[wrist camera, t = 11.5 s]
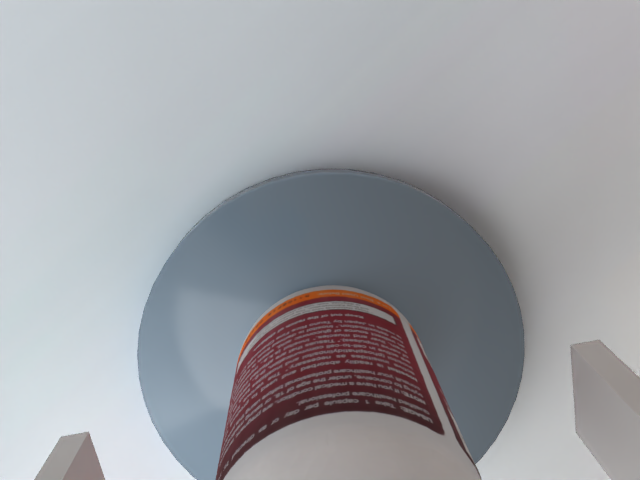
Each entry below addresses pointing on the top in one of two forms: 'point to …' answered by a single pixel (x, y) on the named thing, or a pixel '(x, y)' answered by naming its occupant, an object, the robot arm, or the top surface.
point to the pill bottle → (338, 396)
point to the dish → (321, 270)
